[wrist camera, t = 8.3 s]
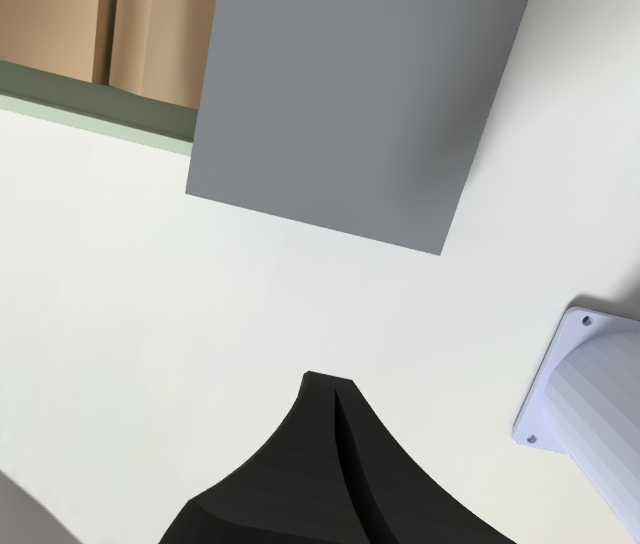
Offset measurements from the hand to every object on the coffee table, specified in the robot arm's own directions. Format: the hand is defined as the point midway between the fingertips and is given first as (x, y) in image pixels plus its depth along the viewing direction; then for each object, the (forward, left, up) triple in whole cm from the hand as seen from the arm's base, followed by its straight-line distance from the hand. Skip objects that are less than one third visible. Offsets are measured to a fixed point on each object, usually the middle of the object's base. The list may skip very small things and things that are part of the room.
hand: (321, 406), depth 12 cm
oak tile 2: (+12, -8, -8) cm, 17 cm away
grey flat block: (+1, -9, -10) cm, 13 cm away
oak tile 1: (+7, -9, -8) cm, 14 cm away
